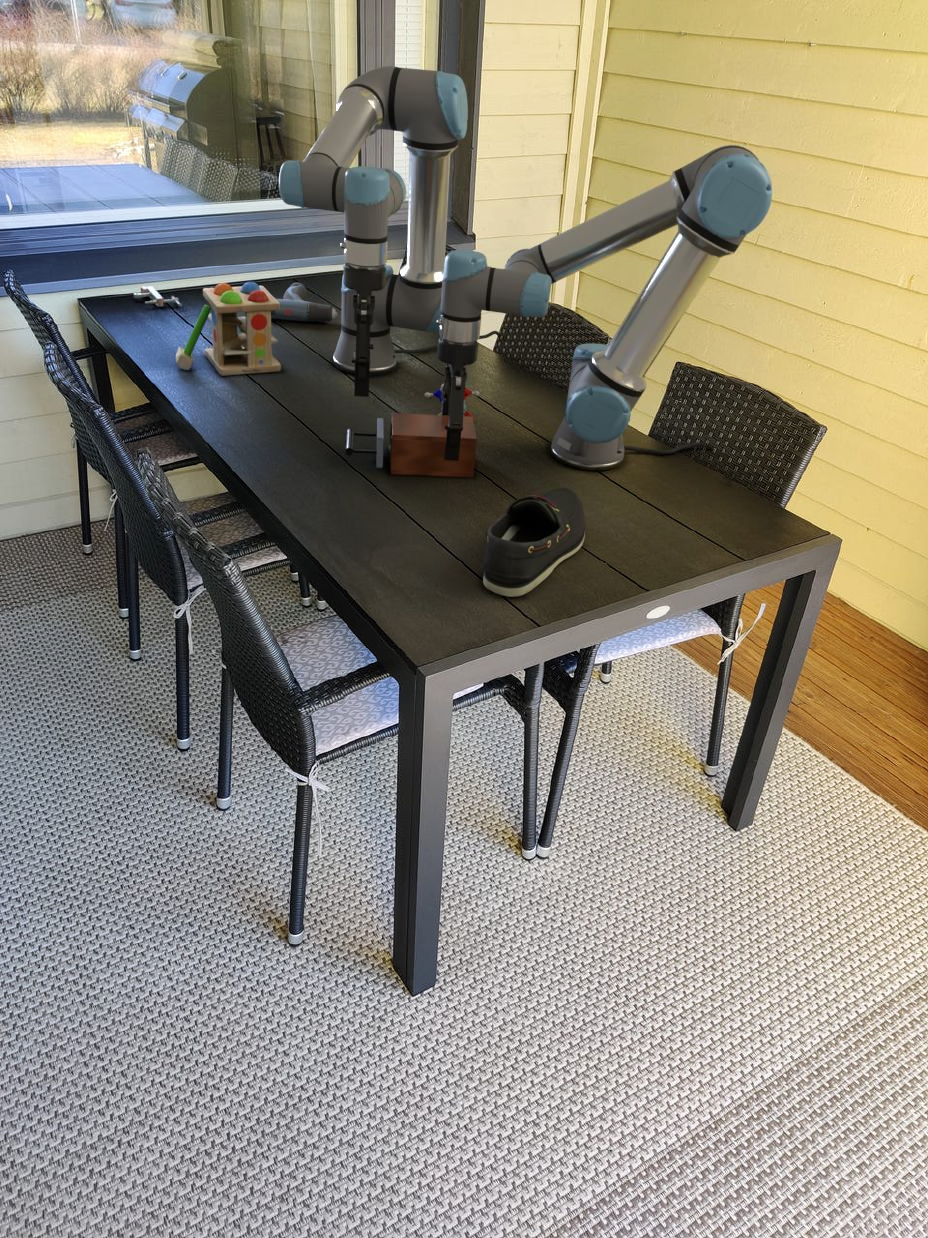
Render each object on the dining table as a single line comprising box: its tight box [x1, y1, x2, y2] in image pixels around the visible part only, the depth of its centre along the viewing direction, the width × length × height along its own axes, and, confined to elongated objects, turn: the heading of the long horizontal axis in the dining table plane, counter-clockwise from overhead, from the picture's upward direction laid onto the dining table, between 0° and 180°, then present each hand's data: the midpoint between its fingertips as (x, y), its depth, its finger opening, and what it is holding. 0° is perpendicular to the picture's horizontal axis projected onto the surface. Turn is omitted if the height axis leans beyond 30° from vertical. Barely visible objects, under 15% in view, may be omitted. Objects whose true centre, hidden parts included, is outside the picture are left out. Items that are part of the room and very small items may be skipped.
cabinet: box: [390, 412, 478, 478], centre depth 193 cm, size 16×11×8 cm, turn 94°
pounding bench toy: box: [174, 281, 282, 377], centre depth 225 cm, size 23×14×18 cm, turn 116°
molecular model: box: [424, 383, 480, 418], centre depth 211 cm, size 12×10×10 cm
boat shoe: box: [481, 487, 586, 598], centre depth 167 cm, size 13×33×10 cm, turn 147°
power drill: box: [271, 282, 338, 322], centre depth 265 cm, size 5×19×20 cm
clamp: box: [133, 285, 183, 308], centre depth 263 cm, size 15×2×10 cm
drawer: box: [344, 417, 392, 469], centre depth 193 cm, size 21×9×6 cm, turn 94°
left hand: (361, 389), depth 186 cm, fingers open, 5 cm apart
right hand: (449, 445), depth 194 cm, fingers open, 13 cm apart
